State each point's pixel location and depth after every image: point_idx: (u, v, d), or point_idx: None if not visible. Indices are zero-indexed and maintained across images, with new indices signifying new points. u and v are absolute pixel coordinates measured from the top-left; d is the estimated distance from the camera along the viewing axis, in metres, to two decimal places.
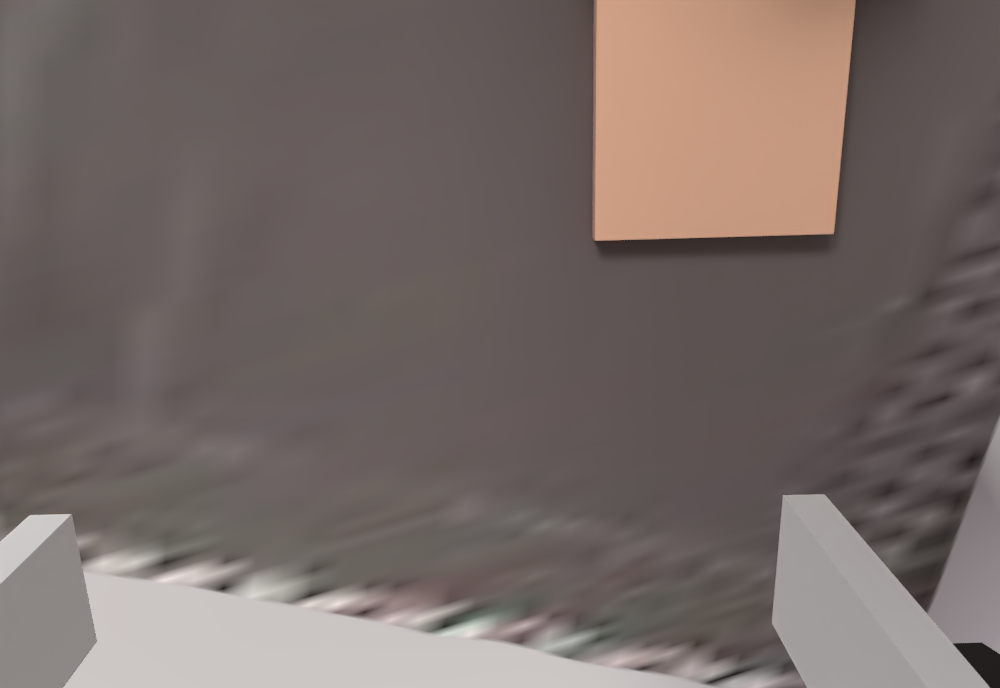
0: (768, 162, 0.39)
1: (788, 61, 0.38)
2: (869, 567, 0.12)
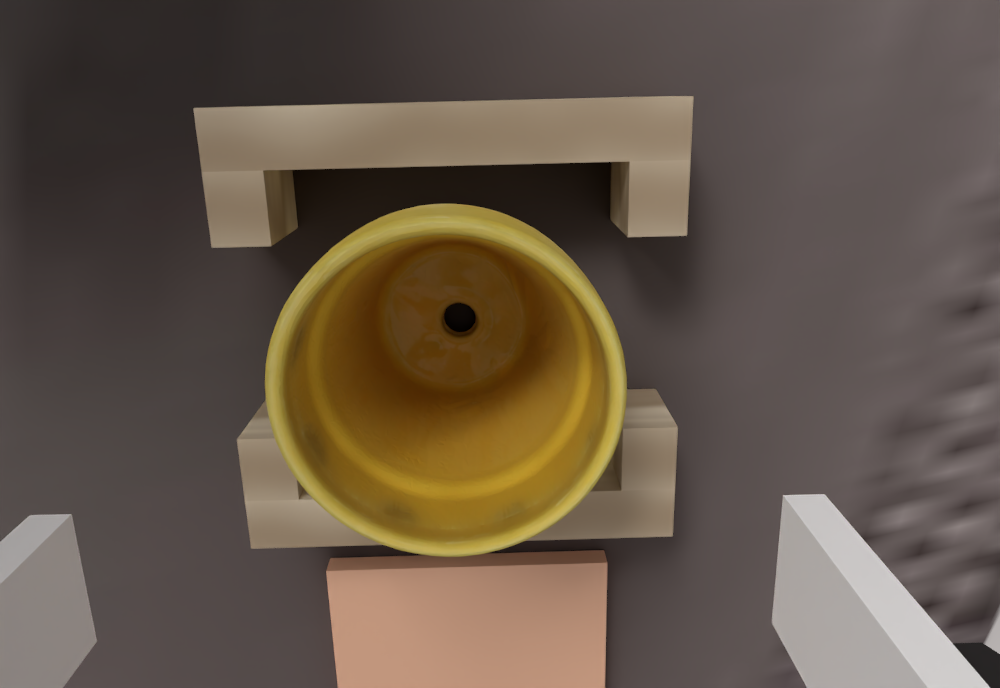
0: None
1: (539, 639, 0.35)
2: (869, 567, 0.12)
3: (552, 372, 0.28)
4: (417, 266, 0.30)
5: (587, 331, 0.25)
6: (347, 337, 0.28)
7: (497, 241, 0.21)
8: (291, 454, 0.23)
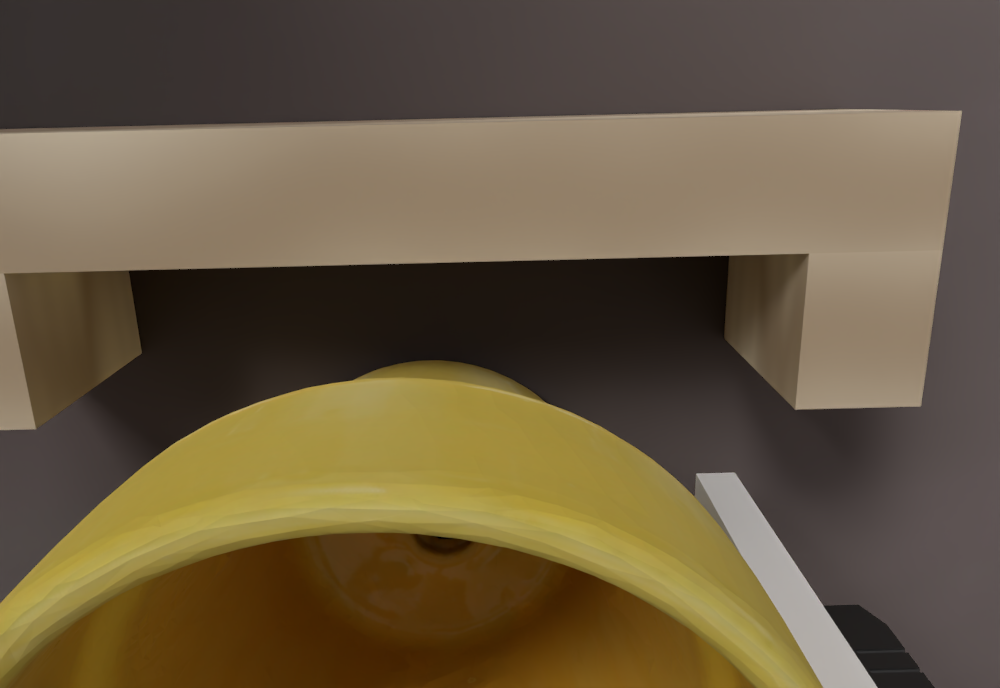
0: None
1: None
2: (761, 537, 0.13)
3: (629, 672, 0.14)
4: None
5: (738, 673, 0.10)
6: (206, 610, 0.13)
7: (532, 553, 0.07)
8: None
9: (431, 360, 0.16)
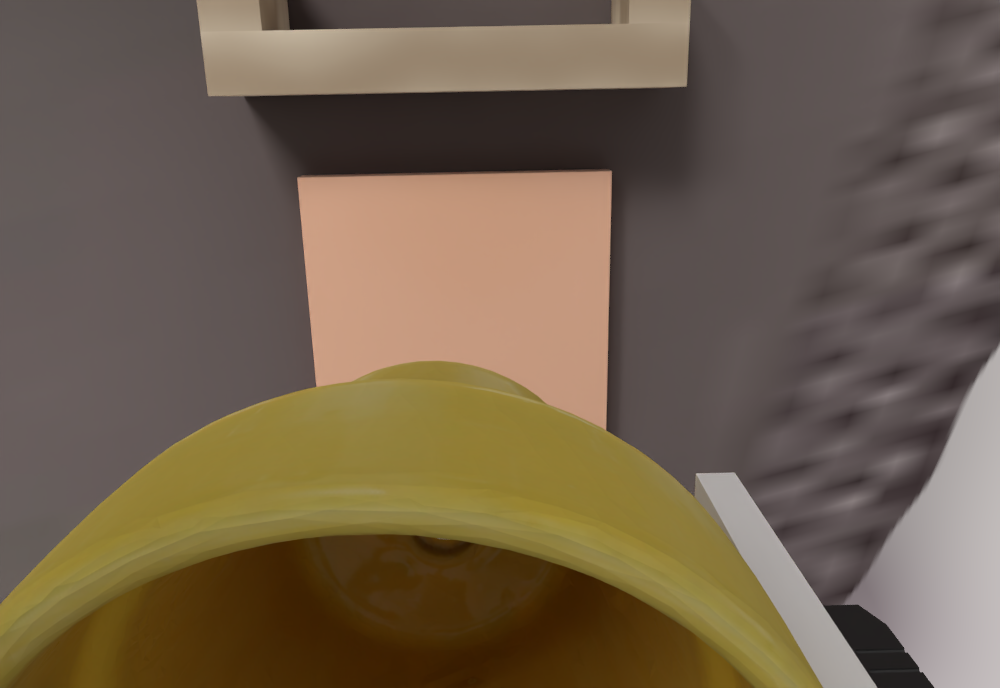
0: (522, 380, 0.33)
1: (536, 269, 0.32)
2: (761, 537, 0.13)
3: (629, 672, 0.14)
4: None
5: (738, 674, 0.10)
6: (207, 611, 0.13)
7: (532, 554, 0.07)
8: None
9: (431, 361, 0.16)
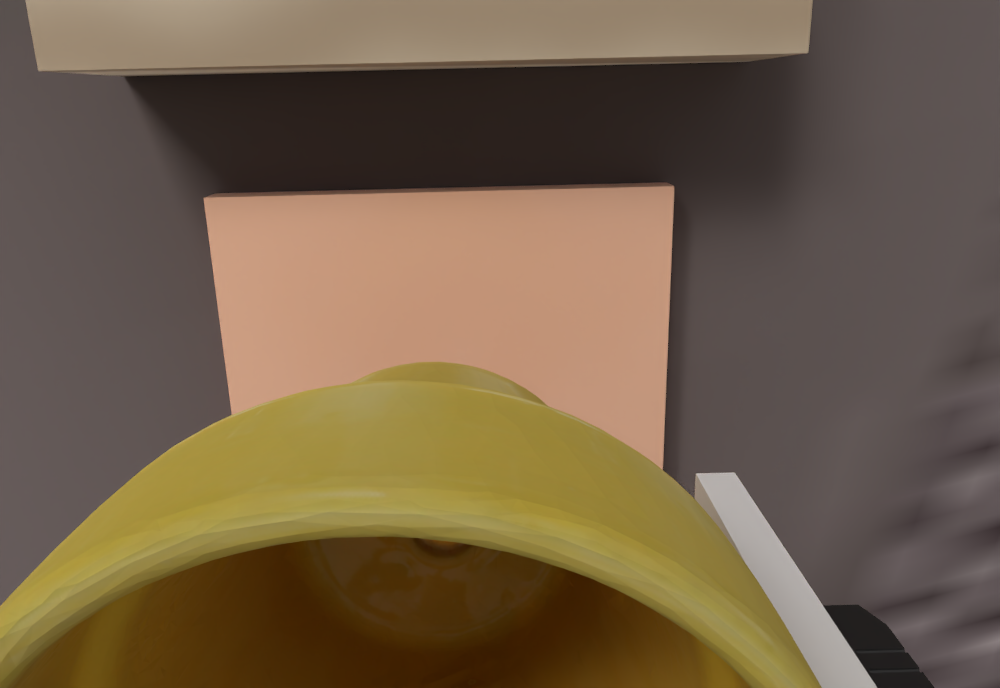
0: None
1: (560, 330, 0.21)
2: (761, 537, 0.13)
3: (629, 673, 0.14)
4: None
5: (738, 675, 0.10)
6: (207, 612, 0.13)
7: (532, 557, 0.07)
8: None
9: None
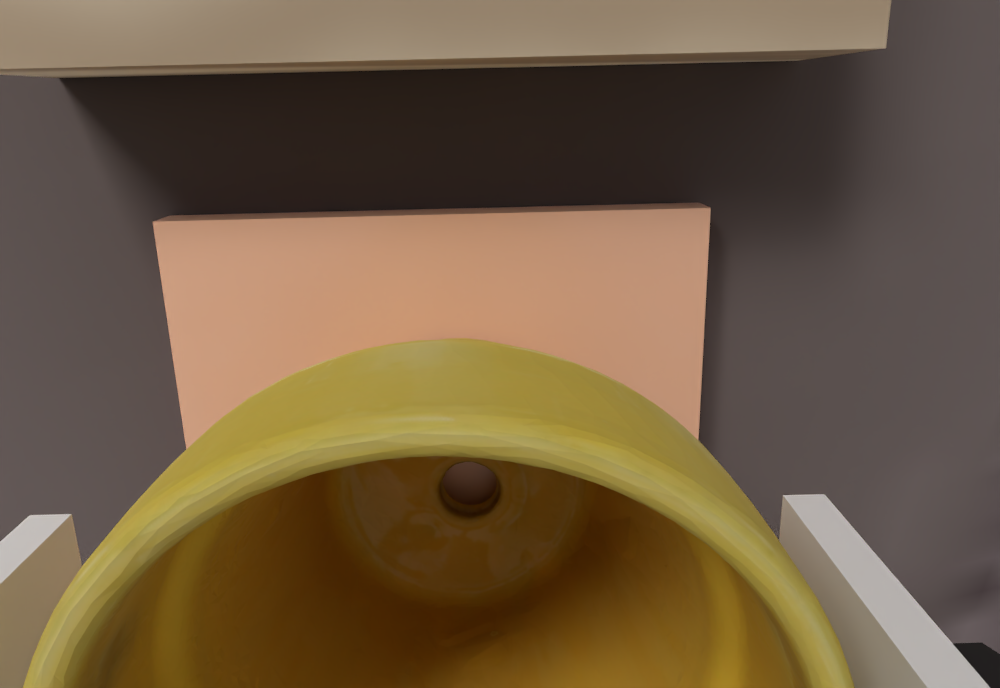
0: None
1: None
2: (869, 567, 0.12)
3: (641, 617, 0.15)
4: None
5: (742, 602, 0.12)
6: (260, 559, 0.15)
7: (574, 474, 0.08)
8: None
9: (458, 338, 0.18)
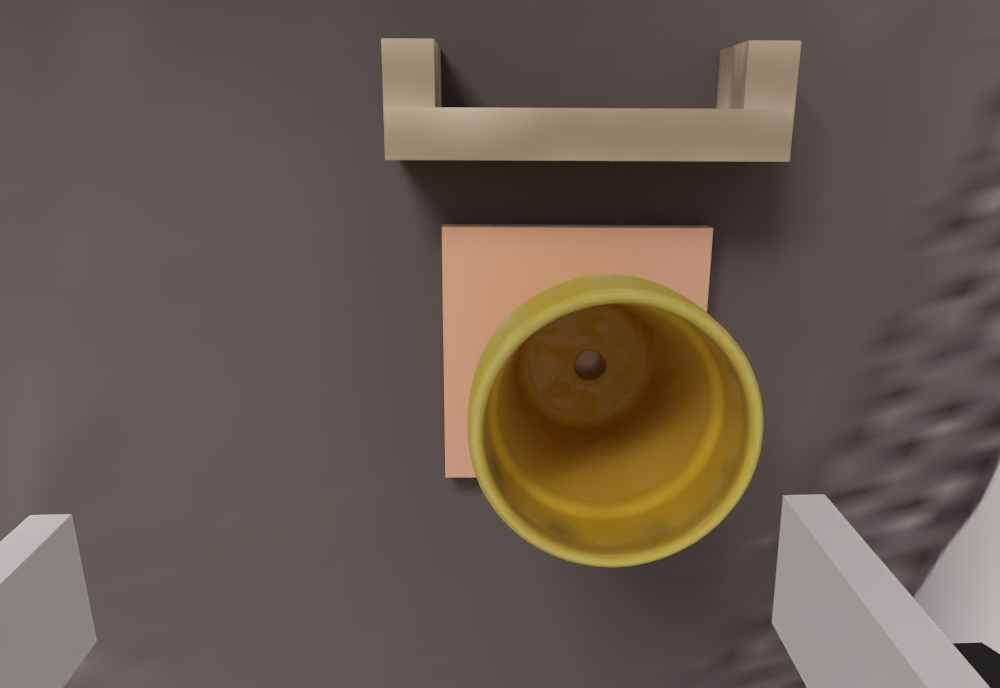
0: None
1: None
2: (869, 567, 0.12)
3: (677, 414, 0.33)
4: (556, 318, 0.35)
5: (722, 382, 0.30)
6: (507, 379, 0.33)
7: (668, 310, 0.26)
8: (485, 477, 0.28)
9: None
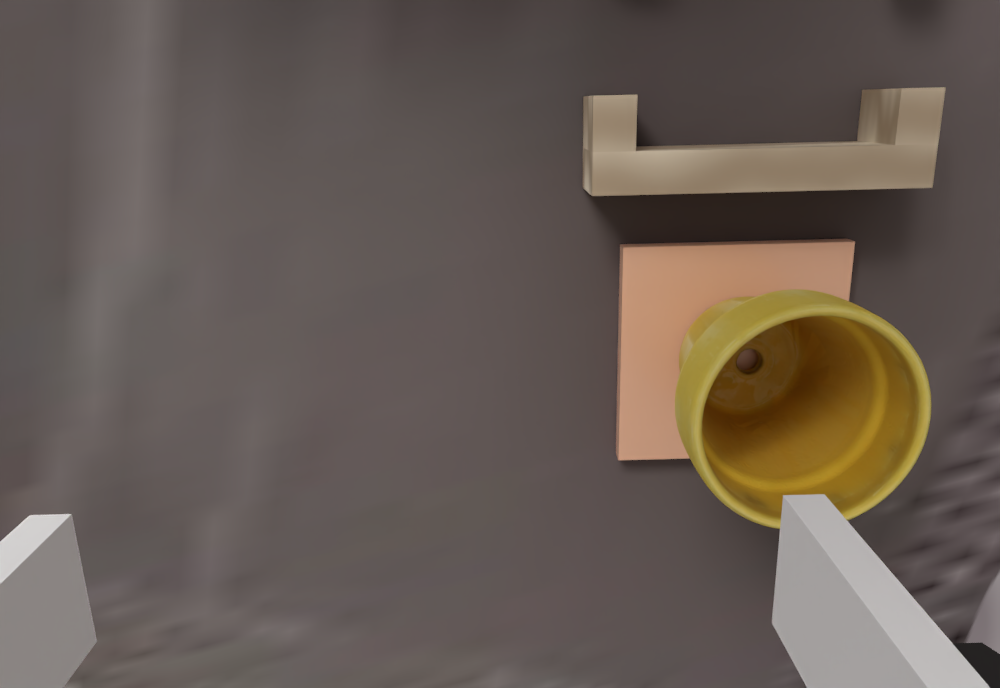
0: None
1: None
2: (869, 567, 0.12)
3: (836, 402, 0.39)
4: None
5: (887, 376, 0.36)
6: None
7: (857, 320, 0.33)
8: (703, 459, 0.34)
9: None
